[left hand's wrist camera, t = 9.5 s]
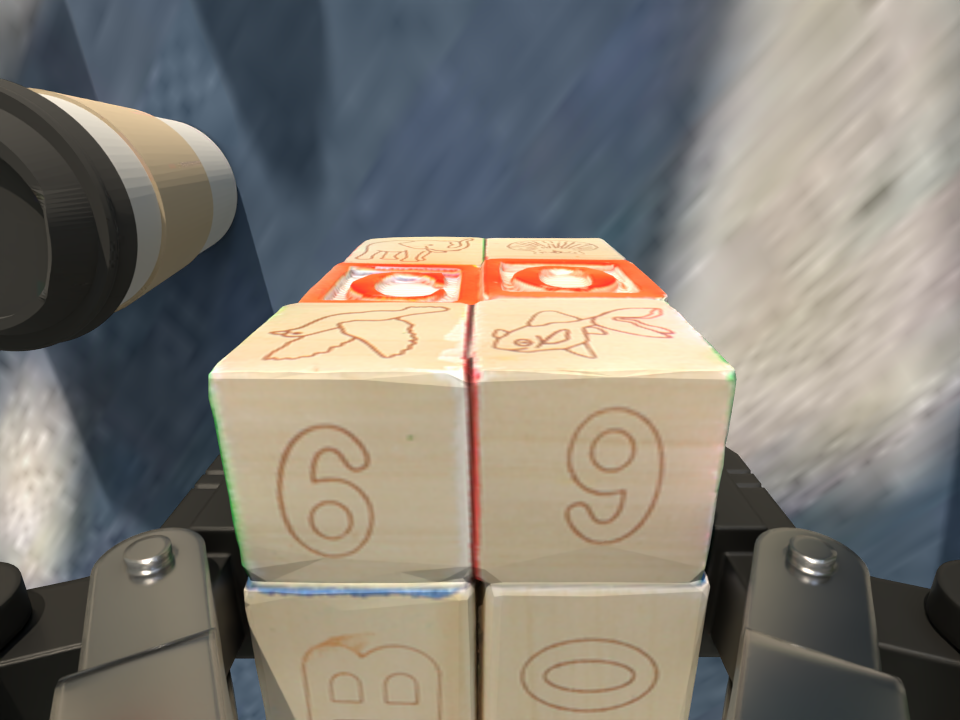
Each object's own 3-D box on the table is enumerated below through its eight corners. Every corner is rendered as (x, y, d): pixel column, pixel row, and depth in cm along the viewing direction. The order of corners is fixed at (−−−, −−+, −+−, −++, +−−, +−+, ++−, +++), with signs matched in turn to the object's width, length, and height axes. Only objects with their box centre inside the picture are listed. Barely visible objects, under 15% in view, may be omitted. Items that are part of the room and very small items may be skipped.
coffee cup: (86, 252, 33) (-196, 338, 19) (86, 77, 30) (-249, 28, 16) (250, 287, 34) (94, 394, 20) (266, 119, 31) (95, 107, 17)
